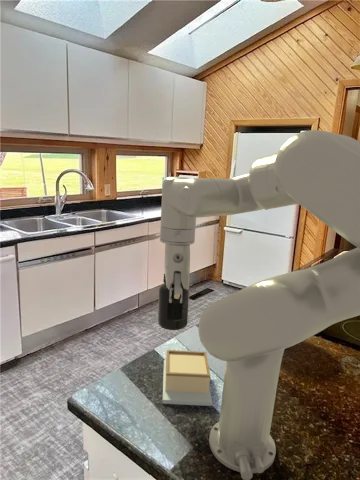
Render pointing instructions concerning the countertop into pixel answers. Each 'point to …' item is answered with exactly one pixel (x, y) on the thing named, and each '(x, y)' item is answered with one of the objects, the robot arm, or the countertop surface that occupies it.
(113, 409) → the countertop surface
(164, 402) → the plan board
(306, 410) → the countertop surface
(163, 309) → the supplement bottle
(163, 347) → the countertop surface
